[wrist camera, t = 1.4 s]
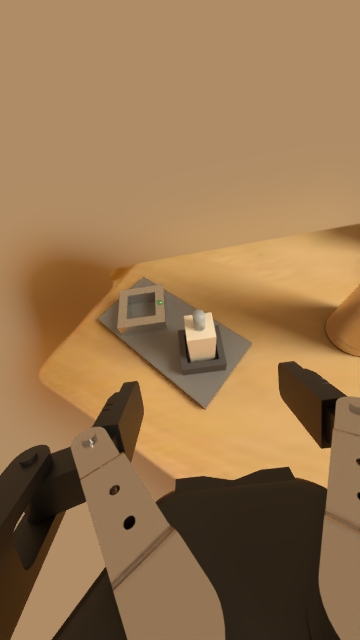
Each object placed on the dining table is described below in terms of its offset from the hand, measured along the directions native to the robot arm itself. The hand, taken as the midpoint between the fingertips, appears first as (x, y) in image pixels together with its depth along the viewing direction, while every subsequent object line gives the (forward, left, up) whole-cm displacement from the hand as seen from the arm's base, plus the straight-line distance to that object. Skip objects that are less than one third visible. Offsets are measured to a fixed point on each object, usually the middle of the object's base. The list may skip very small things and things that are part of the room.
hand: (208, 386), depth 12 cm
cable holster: (-8, -8, -23) cm, 26 cm away
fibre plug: (-8, -8, -23) cm, 26 cm away
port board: (-8, -16, -25) cm, 31 cm away
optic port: (-8, -22, -23) cm, 33 cm away
